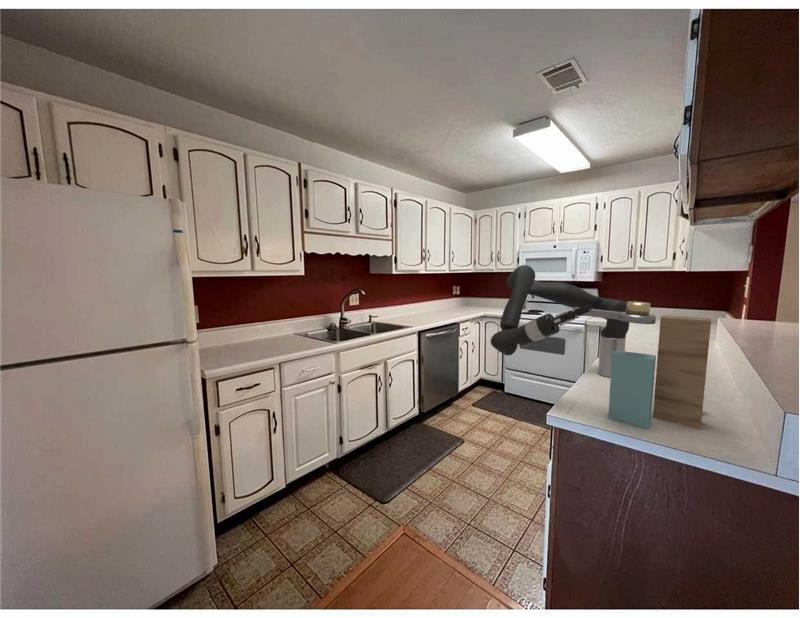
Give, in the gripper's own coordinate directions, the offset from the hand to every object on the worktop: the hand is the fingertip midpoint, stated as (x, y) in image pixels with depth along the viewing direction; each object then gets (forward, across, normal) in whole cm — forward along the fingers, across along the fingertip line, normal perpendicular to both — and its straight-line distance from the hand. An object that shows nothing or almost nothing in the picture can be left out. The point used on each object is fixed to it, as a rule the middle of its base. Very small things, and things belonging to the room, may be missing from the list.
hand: (589, 307), depth 103 cm
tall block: (-6, 0, +36) cm, 37 cm away
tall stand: (+3, +10, +41) cm, 43 cm away
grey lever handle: (+4, 0, +6) cm, 7 cm away
